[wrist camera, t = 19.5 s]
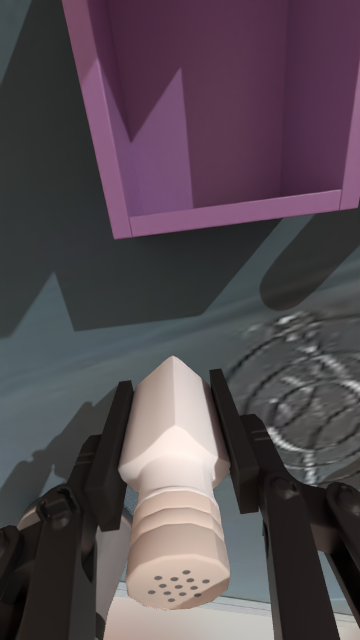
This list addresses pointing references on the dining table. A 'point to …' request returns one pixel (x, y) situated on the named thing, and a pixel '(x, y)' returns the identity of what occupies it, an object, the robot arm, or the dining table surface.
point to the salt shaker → (175, 490)
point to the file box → (219, 108)
